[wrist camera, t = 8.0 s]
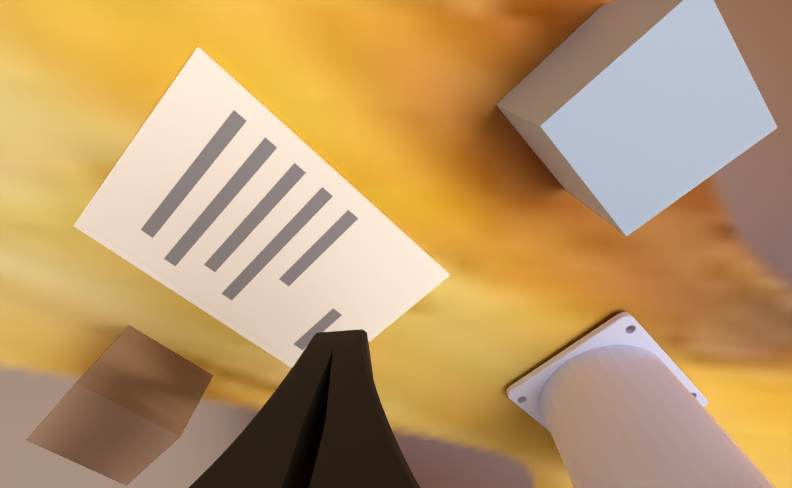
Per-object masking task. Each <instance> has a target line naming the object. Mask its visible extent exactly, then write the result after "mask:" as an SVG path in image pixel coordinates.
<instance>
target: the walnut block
mask: <svg viewBox="0 0 792 488" xmlns="http://www.w3.org/2000/svg"><path fill="white" fill-rule="evenodd" d="M212 376H213V375H211V374H210V373H208V372H206V371H205V370H203V369H201V368H200V367H198V366H196V365H195V364H193V363H191V362H190V361H188V360H186V359H184V358H183V357H181V356H179V355H178V354H176V353H174V352H173V351H171V350H169V349H168V348H166V347H164V346H163V345H161V344H159V343H158V342H156V341H154V340H153V339H151V338H149V337H148V336H146V335H144V334H143V333H141V332H139V331H138V330H136V329H134V328H133V327H131V326H129V327H128V328H127V329H126V330H125V331H124V332H123V333H122V334H121V335H120V336H119V338H118V339H117V340H116V341H115V342H114V343H113V344H112V345H111V346H110V347H109V348H108V349H107V350H106V351H105V352H104V354H103V355H102V356H101V357H100V358H99V359H98V360H97V361H96V362H95V363H94V364H93V365H92V366H91V367H90V368H89V370H88V371H87V372H86V373H85V374H84V375H83V376H82V377H81V378H80V379H79V380H78V381H77V382H76V383H75V385H74V386H73V387H72V388H71V389H70V390H69V391H68V393H67V394H66V395H65V396H64V397H63V398H62V399H61V401H60V402H59V403H58V404H57V405H56V407H55V408H54V409H53V410H52V411H51V412H50V413H49V414H48V416H47V417H46V418H45V419H44V420H43V421H42V423H41V424H40V425H39V426H38V427H37V428H36V429H35V431H34V432H33V433H32V434H31V435H30V436H29V438H28V439H27V441H30V442H32V443H34V444H36V445H38V446H41V447H43V448H45V449H47V450H49V451H52V452H54V453H56V454H58V455H60V456H63V457H65V458H67V459H69V460H72V461H74V462H76V463H78V464H80V465H82V466H85V467H87V468H89V469H91V470H93V471H96V472H98V473H100V474H102V475H105V476H107V477H109V478H111V479H113V480H116V481H118V482H120V483H122V484H124V485H128V484H129V483H130V482H131V481H132V480H133V479H134V478H135V477H136V476H138V475H139V474H140V473H141V472H142V471H143V470H144V469H145V468H146V467H148V465H149V464H151V463H152V462H153V461H154V460H155V459H156V458H157V457H159V456H160V454H162V453H163V452H164V451H165V450H166V449H167V448H169V447H170V446H171V445H172V444H173V443H174V442H175V441H176V440H177V439H179V438H180V436H181V434H182V433H183V431H184V429H185V427H186V425H187V423H188V421H189V419H190V418H191V416H192V414H193V412H194V410H195V408H196V406H197V404H198V403H199V401H200V399H201V397H202V395H203V393H204V391H205V390H206V388H207V386H208V384H209V382H210V380H211V378H212Z"/></svg>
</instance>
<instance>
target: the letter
mask: <svg viewBox="0 0 792 488" xmlns="http://www.w3.org/2000/svg"><path fill="white" fill-rule="evenodd" d="M73 226H74V227H75V228H77V229H79V230H80V231H82V232H83V233H85V234H86V235H88V236H89V237H91V238H92V239H94V240H95V241H97V242H99V243H100V244H102V245H103V246H105V247H106V248H108V249H109V250H111V251H112V252H114V253H115V254H117V255H118V256H120V257H122V258H123V259H125V260H126V261H128V262H129V263H131V264H132V265H134V266H135V267H137V268H138V269H140V270H142V271H143V272H145V273H146V274H148V275H149V276H151V277H152V278H154V279H155V280H157V281H158V282H160V283H162V284H163V285H165V286H166V287H168V288H169V289H171V290H172V291H174V292H175V293H177V294H178V295H180V296H181V297H183V298H185V299H186V300H188V301H189V302H191V303H192V304H194V305H195V306H197V307H198V308H200V309H201V310H203V311H205V312H206V313H208V314H209V315H211V316H212V317H214V318H215V319H217V320H218V321H220V322H221V323H223V324H225V325H226V326H228V327H229V328H231V329H232V330H234V331H235V332H237V333H238V334H240V335H241V336H243V337H245V338H246V339H248V340H249V341H251V342H252V343H254V344H255V345H257V346H258V347H260V348H261V349H263V350H264V351H266V352H268V353H269V354H271V355H272V356H274V357H275V358H277V359H278V360H280V361H281V362H283V363H284V364H286V365H288V366H289V367H291V368H292V367H293V366H294V365H295V363H296V362H297V360H298V359H299V357H300V356H301V354H302V353H303V351H304V350H305V348H306V347H307V345H308V344H309V342H310V341H311V339H312V338H313V336H314V335H315V334H316V333H319V332H332V331H346V330H360V329H363V330H364V331H365V332H367V337H368V343H369V342H370V341H371V340H372V339H373V338H375V337H376V336H377V335H378V334H380V333H381V332H382V331H383V330H384V329H386V328H387V327H388V326H389V325H390V324H392V323H393V322H394V321H395V320H396V319H398V318H399V317H400V316H401V315H403V314H404V313H405V312H406V311H407V310H409V309H410V308H411V307H412V306H413V305H415V304H416V303H417V302H418V301H419V300H421V299H422V298H423V297H424V296H426V295H427V294H428V293H429V292H430V291H432V290H433V289H434V288H435V287H436V286H438V285H439V284H440V283H441V282H443V281H444V280H445V279H446V278H447V277H449V276H450V274H449V272H447V271H446V270H445V269H444V268H443V267H442V266H441V265H440V264H439V263H437V262H436V261H435V260H434V259H433V258H432V257H431V256H430V255H429V254H428V253H426V252H425V251H424V250H423V249H422V248H421V247H420V246H419V245H418V244H416V243H415V242H414V241H413V240H412V239H411V238H410V237H409V236H408V235H407V234H405V233H404V232H403V231H402V230H401V229H400V228H399V227H398V226H397V225H396V224H394V223H393V222H392V221H391V220H390V219H389V218H388V217H387V216H386V215H384V214H383V213H382V212H381V211H380V210H379V209H378V208H377V207H376V206H375V205H373V204H372V203H371V202H370V201H369V200H368V199H367V198H366V197H365V196H363V195H362V194H361V193H360V192H359V191H358V190H357V189H356V188H355V187H354V186H352V185H351V184H350V183H349V182H348V181H347V180H346V179H345V178H344V177H342V176H341V175H340V174H339V173H338V172H337V171H336V170H335V169H334V168H333V167H331V166H330V165H329V164H328V163H327V162H326V161H325V160H324V159H323V158H321V157H320V156H319V155H318V154H317V153H316V152H315V151H314V150H313V149H312V148H310V147H309V146H308V145H307V144H306V143H305V142H304V141H303V140H302V139H301V138H299V137H298V136H297V135H296V134H295V133H294V132H293V131H292V130H291V129H289V128H288V127H287V126H286V125H285V124H284V123H283V122H282V121H281V120H280V119H278V118H277V117H276V116H275V115H274V114H273V113H272V112H271V111H270V110H268V109H267V108H266V107H265V106H264V105H263V104H262V103H261V102H260V101H259V100H257V99H256V98H255V97H254V96H253V95H252V94H251V93H250V92H249V91H247V90H246V89H245V88H244V87H243V86H242V85H241V84H240V83H239V82H238V81H236V80H235V79H234V78H233V77H232V76H231V75H230V74H229V73H228V72H226V71H225V70H224V69H223V68H222V67H221V66H220V65H219V64H218V63H217V62H215V61H214V60H213V59H212V58H211V57H210V56H209V55H208V54H207V53H206V52H204V51H203V50H202V49H201V48H200V47H197V49H196V50H195V52H194V53H193V54H192V56H191V57H190V59H189V60H188V62H187V63H186V64H185V66H184V67H183V69H182V70H181V72H180V73H179V75H178V76H177V77H176V79H175V80H174V82H173V83H172V85H171V86H170V87H169V89H168V90H167V92H166V93H165V95H164V96H163V98H162V99H161V100H160V102H159V103H158V105H157V106H156V108H155V109H154V110H153V112H152V113H151V115H150V116H149V118H148V119H147V120H146V122H145V123H144V125H143V126H142V128H141V129H140V131H139V132H138V133H137V135H136V136H135V138H134V139H133V141H132V142H131V143H130V145H129V146H128V148H127V149H126V151H125V152H124V154H123V155H122V156H121V158H120V159H119V161H118V162H117V164H116V165H115V166H114V168H113V169H112V171H111V172H110V174H109V175H108V177H107V178H106V179H105V181H104V182H103V184H102V185H101V187H100V188H99V189H98V191H97V192H96V194H95V195H94V197H93V198H92V200H91V201H90V202H89V204H88V205H87V207H86V208H85V210H84V211H83V212H82V214H81V215H80V217H79V218H78V220H77V221H76V223H75V224H74V225H73Z"/></svg>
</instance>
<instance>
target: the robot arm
mask: <svg viewBox="0 0 792 488" xmlns="http://www.w3.org/2000/svg"><path fill="white" fill-rule="evenodd" d="M628 326H630V327H629V328H627V327H628ZM507 395H508V398H509V399H510V400H511V401H513V402H514V403H515V404H516V405H517V406H519V407H520V408H521V409H522V410H524V411H525V412H526V413H527V414H529V415H530V416H531V417H532V418H534V419H535V420H536V421H537V422H539V423H540V424H541V425H542V426H544V427H545V428H546V429H547V430H549V431H550V433H551V435H552V438H553V440H554V442H555V445H556V447H557V449H558V451H559V454H560V456H561V458H562V461H563V463H564V465H565V468H566V470H567V472H568V475H569V477H570V479H571V481H572V484H573V486H574V488H775V487H774V486H773V484H772V483H771V482H770V481H769V480H768V479H767V478H766V477H765V475H764V474H763V473H762V472H761V471H760V470H759V469H758V468H757V467H756V465H755V464H754V463H753V462H752V461H751V460H750V459H749V458H748V456H747V455H746V454H745V453H744V452H743V451H742V450H741V449H740V447H739V446H738V445H737V444H736V443H735V442H734V441H733V440H732V439H731V437H730V436H729V435H728V434H727V433H726V432H725V431H724V430H723V428H722V427H721V426H720V425H719V424H718V423H717V422H716V421H715V420H714V418H713V417H712V416H711V415H710V414H709V413H708V412H707V411H706V409H705V408H704V407H706V405H707V404H708V400H707V399H706V398H705V396H704V395H703V394H702V393H701V392H700V391H699V390H698V389H697V388H696V386H695V385H694V384H693V383H692V382H691V381H690V380H689V379H688V378H687V376H686V375H685V374H684V373H683V372H682V371H681V370H680V369H679V368H678V366H677V365H676V364H675V363H674V362H673V361H672V360H671V359H670V358H669V356H668V355H667V354H666V353H665V352H664V351H663V350H662V349H661V348H660V346H659V345H658V344H657V343H656V342H655V341H654V340H653V339H652V338H651V336H650V335H649V334H648V333H647V332H646V331H645V330H644V329H643V327H642V326H641V325H640V324H639V323H638V322H637V321H636V320H635V319H634V317H633V316H632V315H631V314H629V313H627V312H622V313H619V314H617V315H615V316H614V317H612V318H611V319H609V320H608V321H606V322H605V323H603V324H602V325H600V326H599V327H598V328H596V329H595V330H593V331H592V332H590V333H589V334H587V335H586V336H584V337H583V338H581V339H580V340H578V341H577V342H575V343H574V344H572V345H571V346H569V347H568V348H566V349H565V350H563V351H562V352H560V353H559V354H557V355H556V356H554V357H553V358H551V359H550V360H548V361H547V362H545V363H544V364H542V365H541V366H539V367H538V368H536V369H535V370H533V371H532V372H530V373H529V374H527V375H526V376H524V377H523V378H521V379H520V380H518V381H517V382H515V383H514V384H512V385H511V386H510V387H508V389H507ZM522 396H523V397H522ZM189 488H420V487H419V485H418V483H417V481H416V480H415V478H414V476H413V474H412V472H411V470H410V468H409V466H408V464H407V462H406V460H405V458H404V456H403V454H402V452H401V450H400V448H399V446H398V444H397V441H396V439H395V437H394V435H393V432H392V430H391V428H390V425H389V423H388V420H387V418H386V415H385V413H384V410H383V407H382V405H381V402H380V399H379V396H378V393H377V390H376V387H375V384H374V380H373V373H372V366H371V359H370V351H369V344H368V337H367V332H365V331H364V330H363V329H360V330H346V331H332V332H319V333H316V334H315V335H314V336H313V338H312V339H311V341H310V342H309V344H308V345H307V347H306V348H305V350H304V351H303V353H302V354H301V356H300V357H299V359H298V360H297V362H296V363H295V365H294V366H293V367H292V369H291V370H290V372H289V373H288V374H287V376H286V377H285V379H284V380H283V381H282V383H281V384H280V385H279V387H278V388H277V389H276V391H275V392H274V394H273V395H272V396H271V397H270V399H269V400H268V401H267V402H266V404H265V405H264V406H263V407H262V409H261V410H260V411H259V412H258V414H257V415H256V416H255V417H254V418H253V420H252V421H251V422H250V423H249V425H248V426H247V427H246V428H245V429H244V430H243V432H242V433H241V434H240V435H239V436H238V437H237V438H236V440H235V441H234V442H233V443H232V444H231V445H230V446H229V447H228V449H227V450H226V451H225V452H224V453H223V454H222V455H221V456H220V457H219V458H218V459H217V460H216V461H215V462H214V463H213V464H212V465H211V466H210V468H208V469H207V470H206V471H205V472H204V473H203V474H202V475H201V476H200V477H199V478H198V479H197V480H196V481H195V482H194V483H193V484H192V485H191V486H190V487H189Z"/></svg>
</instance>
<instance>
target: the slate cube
mask: <svg viewBox="0 0 792 488" xmlns="http://www.w3.org/2000/svg"><path fill="white" fill-rule="evenodd" d="M496 106H497V107H498V108H499V109H500V111H501V112H502V113H503V114H504V116H505V117H506V118H507V119H508V120H509V122H510V123H511V124H512V125H513V127H514V128H515V129H516V130H517V131H518V133H519V134H520V135H521V136H522V138H523V139H524V140H525V141H526V143H527V144H528V145H529V146H530V147H531V149H532V150H533V151H534V152H535V154H536V155H537V156H538V157H539V158H540V160H541V161H542V162H543V163H544V165H545V166H546V167H547V168H548V170H549V171H550V172H551V173H552V174H553V176H554V177H555V178H556V179H557V181H558V182H559V183H560V184H561V185H562V187H563V188H564V189H565V190H566V191H568V192H569V193H570V194H571V195H573V196H574V197H575V198H577V199H578V200H579V201H581V202H582V203H583V204H585V205H586V206H587V207H589V208H590V209H591V210H592V211H594V212H595V213H596V214H598V215H599V216H600V217H602V218H603V219H604V220H606V221H607V222H608V223H609V224H611V225H612V226H613V227H615V228H616V229H617V230H619V231H620V232H621V233H623V234H624V235H625V236H628V235H629V234H631V233H632V232H633V231H635V230H636V229H638V228H639V227H640V226H642V225H643V224H644V223H646V222H647V221H649V220H650V219H651V218H653V217H654V216H656V215H657V214H658V213H660V212H661V211H662V210H664V209H665V208H667V207H668V206H669V205H671V204H672V203H674V202H675V201H676V200H678V199H679V198H681V197H682V196H683V195H685V194H686V193H687V192H689V191H690V190H692V189H693V188H694V187H696V186H697V185H699V184H700V183H701V182H703V181H704V180H705V179H707V178H708V177H710V176H711V175H712V174H714V173H715V172H717V171H718V170H719V169H721V168H722V167H723V166H725V165H726V164H727V163H729V162H730V161H732V160H733V159H734V158H736V157H737V156H739V155H740V154H741V153H743V152H744V151H746V150H747V149H749V148H750V147H751V146H752V145H754V144H755V143H757V142H758V141H760V140H761V139H762V138H764V137H765V136H767V135H768V134H769V133H771V132H772V131H773V130H775V129H776V128H777V126H776V124H775V122H774V120H773V118H772V116H771V114H770V112H769V110H768V108H767V106H766V104H765V102H764V100H763V98H762V96H761V94H760V92H759V90H758V88H757V86H756V84H755V82H754V80H753V78H752V76H751V74H750V72H749V70H748V68H747V66H746V64H745V62H744V60H743V58H742V56H741V54H740V52H739V50H738V48H737V46H736V44H735V42H734V40H733V38H732V36H731V34H730V32H729V30H728V28H727V26H726V24H725V22H724V20H723V18H722V16H721V14H720V12H719V10H718V8H717V6H716V4H715V2H714V0H618V1H613V2H609V3H604V4H603V5H602V6H601V7H600V8H599V9H598V10H597V11H596V12H595V13H594V14H592V15H591V16H590V17H589V18H588V19H587V20H586V21H585V22H584V23H583V24H582V25H581V26H580V27H579V28H577V29H576V30H575V31H574V32H573V33H572V34H571V35H570V36H569V37H568V38H567V39H566V40H565V41H564V42H563V43H561V44H560V45H559V46H558V47H557V48H556V49H555V50H554V51H553V52H552V53H551V54H550V55H549V56H548V57H546V58H545V59H544V60H543V61H542V62H541V63H540V64H539V65H538V66H537V67H536V68H535V69H534V70H533V71H532V72H530V73H529V74H528V75H527V76H526V77H525V78H524V79H523V80H522V81H521V82H520V83H519V84H518V85H517V86H515V87H514V88H513V89H512V90H511V91H510V92H509V93H508V94H507V95H506V96H505V97H504V98H503V99H502V100H501V101H499V102H498V103H497V104H496Z"/></svg>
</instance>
